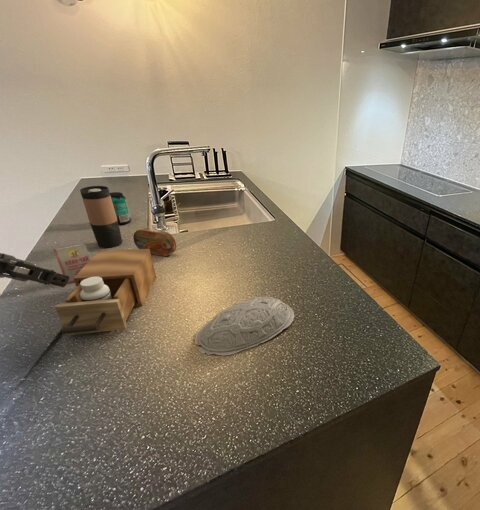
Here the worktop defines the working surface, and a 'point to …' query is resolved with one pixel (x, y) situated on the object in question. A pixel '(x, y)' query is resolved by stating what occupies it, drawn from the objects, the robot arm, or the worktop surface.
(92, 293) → the pill bottle
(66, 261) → the white cardboard box
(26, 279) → the robot arm
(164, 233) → the tin
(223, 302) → the worktop surface
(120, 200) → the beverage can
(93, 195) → the travel mug
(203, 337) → the turtle shell
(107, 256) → the cabinet
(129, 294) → the drawer
